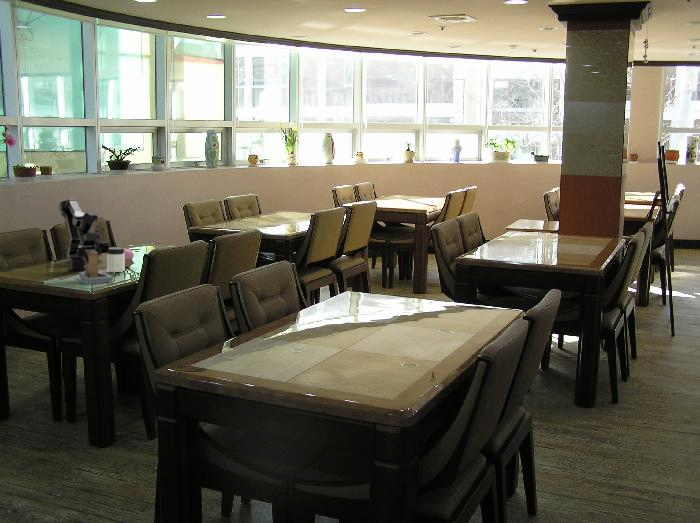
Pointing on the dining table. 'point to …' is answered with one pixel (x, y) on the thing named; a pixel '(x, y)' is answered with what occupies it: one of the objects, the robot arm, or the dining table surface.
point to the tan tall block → (92, 264)
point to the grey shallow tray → (100, 279)
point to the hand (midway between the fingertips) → (92, 262)
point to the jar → (115, 259)
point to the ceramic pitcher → (92, 231)
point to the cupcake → (128, 257)
